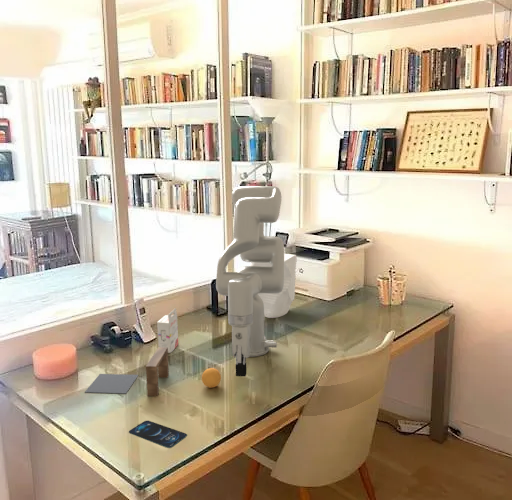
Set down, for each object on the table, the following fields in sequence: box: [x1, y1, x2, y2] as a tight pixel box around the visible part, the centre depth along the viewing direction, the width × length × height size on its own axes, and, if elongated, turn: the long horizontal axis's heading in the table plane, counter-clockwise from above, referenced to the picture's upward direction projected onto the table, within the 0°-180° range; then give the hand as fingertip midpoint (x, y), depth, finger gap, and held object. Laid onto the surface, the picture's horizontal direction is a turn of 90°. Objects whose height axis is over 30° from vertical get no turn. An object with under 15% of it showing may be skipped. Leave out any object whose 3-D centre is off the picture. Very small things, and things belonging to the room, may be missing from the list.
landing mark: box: [84, 373, 139, 395], centre depth 172 cm, size 13×13×1 cm
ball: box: [201, 367, 222, 389], centre depth 169 cm, size 6×6×6 cm
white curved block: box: [249, 253, 297, 319], centre depth 242 cm, size 21×27×26 cm
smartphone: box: [128, 420, 188, 449], centre depth 144 cm, size 8×1×15 cm
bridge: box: [145, 346, 170, 397], centre depth 170 cm, size 3×15×10 cm, turn 176°
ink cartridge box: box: [156, 307, 179, 354], centre depth 199 cm, size 9×5×15 cm, turn 168°
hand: (241, 375), depth 168 cm, fingers closed
